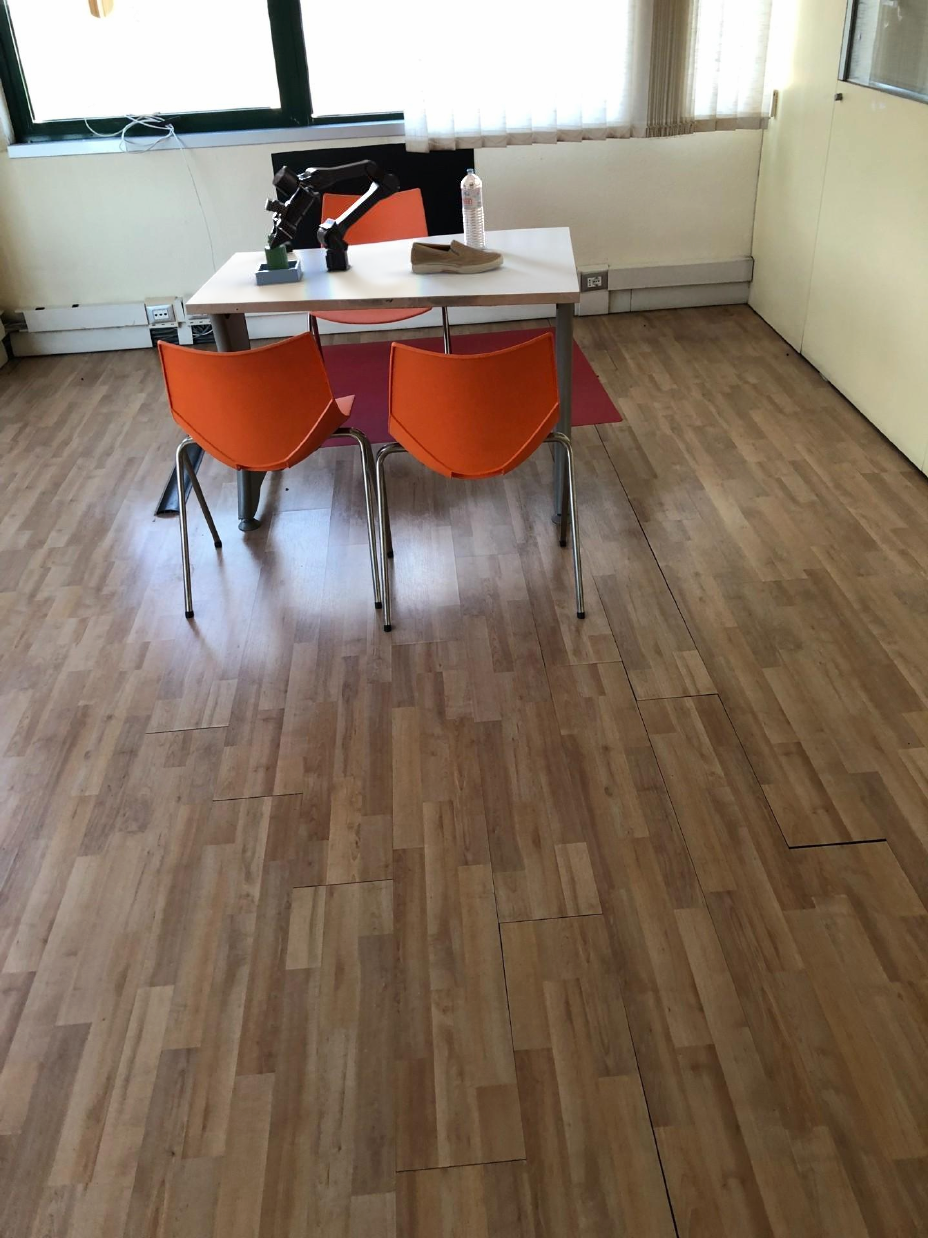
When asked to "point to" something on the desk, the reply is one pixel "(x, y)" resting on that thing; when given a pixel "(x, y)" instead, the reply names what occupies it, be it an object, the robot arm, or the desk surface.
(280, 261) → the bottle
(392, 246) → the desk surface
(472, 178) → the water bottle
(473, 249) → the slip on shoe
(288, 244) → the tape measure
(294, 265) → the tote
